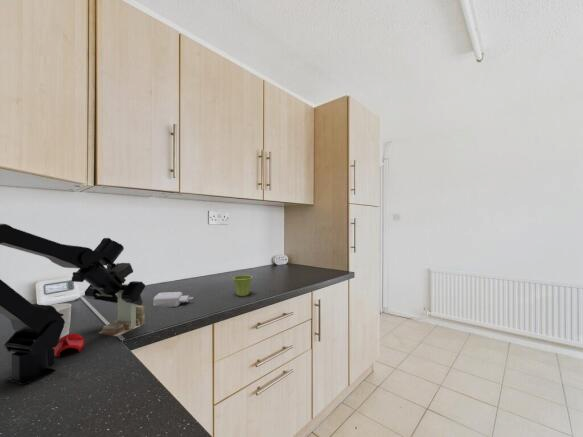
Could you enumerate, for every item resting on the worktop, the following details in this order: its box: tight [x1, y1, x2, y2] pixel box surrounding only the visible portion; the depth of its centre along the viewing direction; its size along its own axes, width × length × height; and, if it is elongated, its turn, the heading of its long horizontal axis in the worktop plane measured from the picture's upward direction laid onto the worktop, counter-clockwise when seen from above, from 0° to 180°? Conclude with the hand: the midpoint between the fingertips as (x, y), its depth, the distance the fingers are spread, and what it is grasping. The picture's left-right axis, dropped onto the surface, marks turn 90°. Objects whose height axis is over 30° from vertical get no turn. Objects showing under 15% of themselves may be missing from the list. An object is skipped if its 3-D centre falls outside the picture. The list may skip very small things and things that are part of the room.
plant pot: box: [232, 274, 253, 297], centre depth 130 cm, size 9×9×9 cm
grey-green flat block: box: [117, 282, 136, 328], centre depth 88 cm, size 2×6×14 cm, turn 72°
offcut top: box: [102, 321, 123, 331], centre depth 84 cm, size 3×4×1 cm
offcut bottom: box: [101, 326, 125, 336], centre depth 84 cm, size 4×5×1 cm
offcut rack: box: [98, 305, 146, 337], centre depth 87 cm, size 10×8×7 cm
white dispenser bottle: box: [152, 291, 194, 308], centre depth 115 cm, size 5×9×15 cm
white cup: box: [48, 303, 72, 339], centre depth 81 cm, size 8×8×10 cm
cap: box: [53, 333, 86, 358], centre depth 71 cm, size 8×6×6 cm
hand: (130, 302), depth 90 cm, fingers open, 9 cm apart
